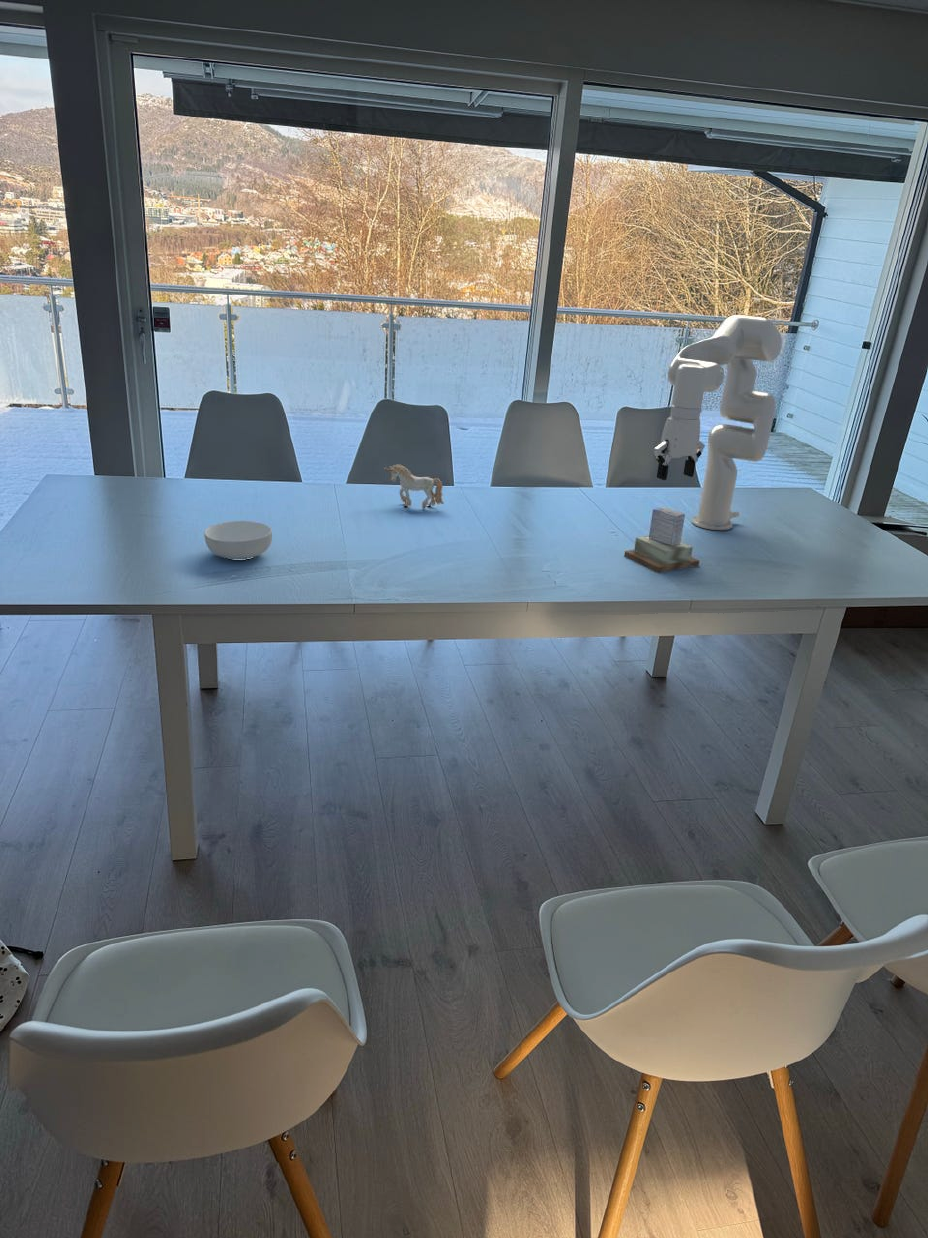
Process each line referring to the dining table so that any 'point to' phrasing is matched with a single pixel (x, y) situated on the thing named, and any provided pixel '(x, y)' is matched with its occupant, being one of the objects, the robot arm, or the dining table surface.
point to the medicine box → (666, 526)
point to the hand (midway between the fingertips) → (674, 477)
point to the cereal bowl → (238, 539)
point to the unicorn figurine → (416, 485)
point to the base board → (656, 565)
